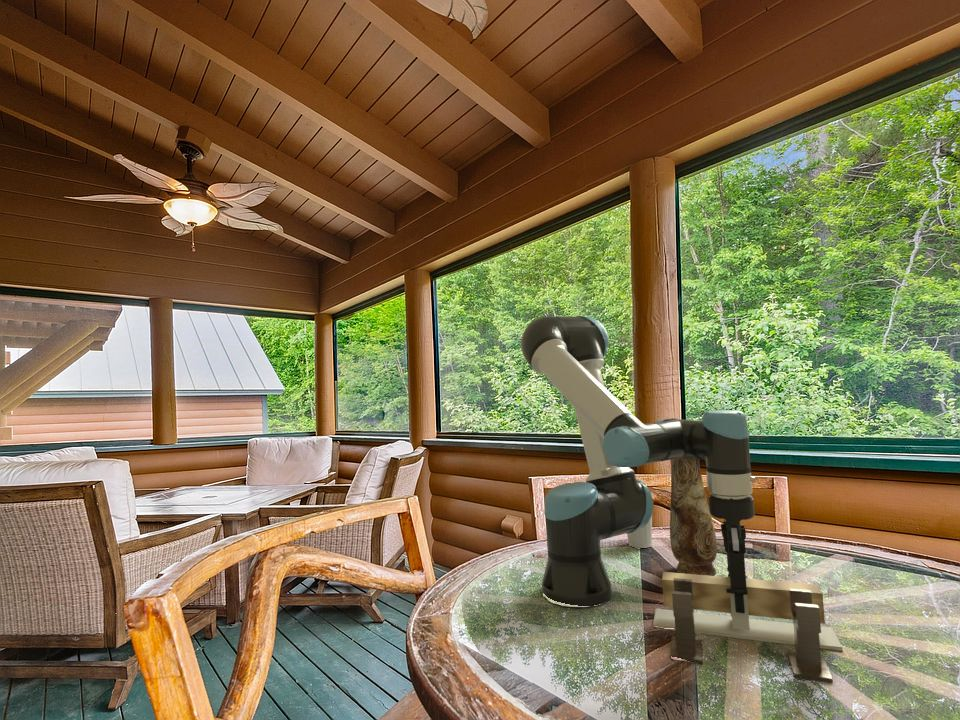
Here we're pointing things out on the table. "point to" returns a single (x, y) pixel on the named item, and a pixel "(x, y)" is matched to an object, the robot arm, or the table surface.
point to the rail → (760, 597)
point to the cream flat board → (758, 630)
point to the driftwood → (755, 553)
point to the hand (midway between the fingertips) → (740, 622)
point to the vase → (691, 520)
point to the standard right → (806, 638)
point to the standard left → (685, 624)
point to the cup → (641, 536)
